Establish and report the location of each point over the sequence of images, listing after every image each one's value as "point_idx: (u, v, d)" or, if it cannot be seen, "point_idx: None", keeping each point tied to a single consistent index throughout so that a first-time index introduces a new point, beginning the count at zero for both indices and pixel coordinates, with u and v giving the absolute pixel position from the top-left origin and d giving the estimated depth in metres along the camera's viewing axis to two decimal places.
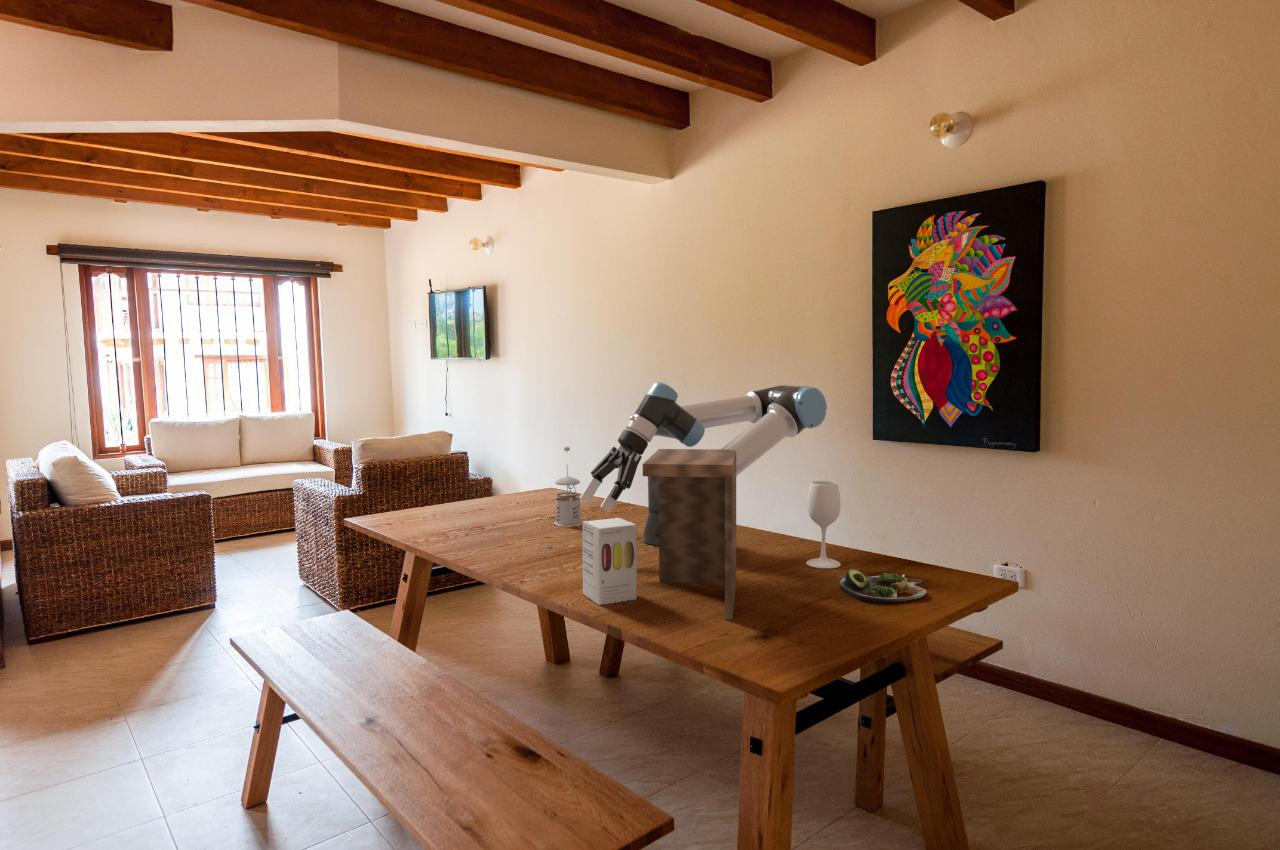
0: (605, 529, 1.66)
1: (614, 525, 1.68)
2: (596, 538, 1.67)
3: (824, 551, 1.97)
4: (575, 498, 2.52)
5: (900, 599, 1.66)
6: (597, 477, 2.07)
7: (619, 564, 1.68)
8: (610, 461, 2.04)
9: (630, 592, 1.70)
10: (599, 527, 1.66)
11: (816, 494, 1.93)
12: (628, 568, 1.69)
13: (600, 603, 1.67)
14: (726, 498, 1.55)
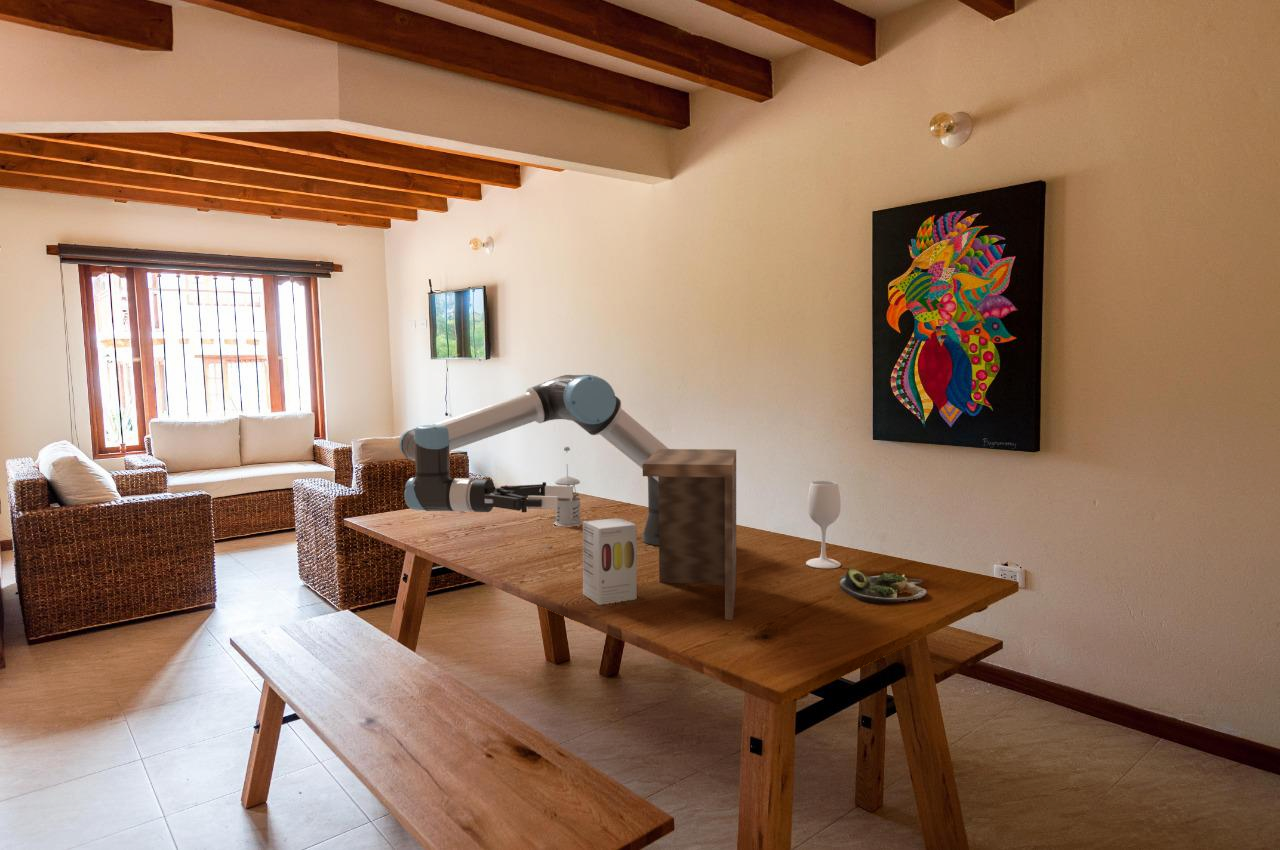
0: (605, 529, 1.66)
1: (614, 525, 1.68)
2: (596, 538, 1.67)
3: (824, 551, 1.97)
4: (575, 498, 2.52)
5: (900, 599, 1.66)
6: (543, 491, 1.80)
7: (619, 564, 1.68)
8: None
9: (630, 592, 1.70)
10: (599, 527, 1.66)
11: (816, 494, 1.93)
12: (628, 568, 1.69)
13: (600, 603, 1.67)
14: (726, 498, 1.55)
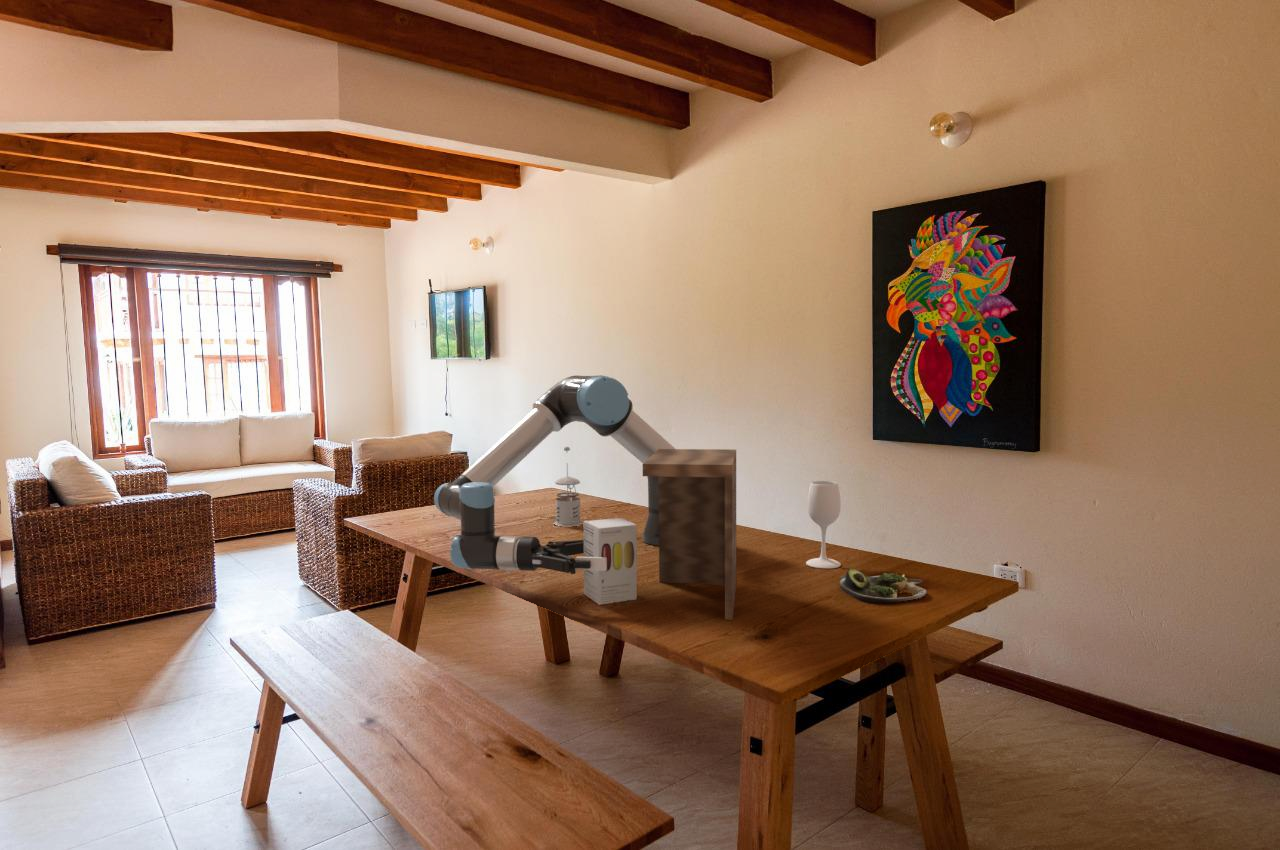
0: (605, 529, 1.66)
1: (614, 525, 1.68)
2: (596, 538, 1.67)
3: (824, 551, 1.97)
4: (575, 498, 2.52)
5: (900, 599, 1.66)
6: None
7: (618, 564, 1.68)
8: None
9: (630, 592, 1.70)
10: (599, 527, 1.66)
11: (816, 494, 1.93)
12: (628, 568, 1.69)
13: (600, 603, 1.67)
14: (726, 498, 1.55)
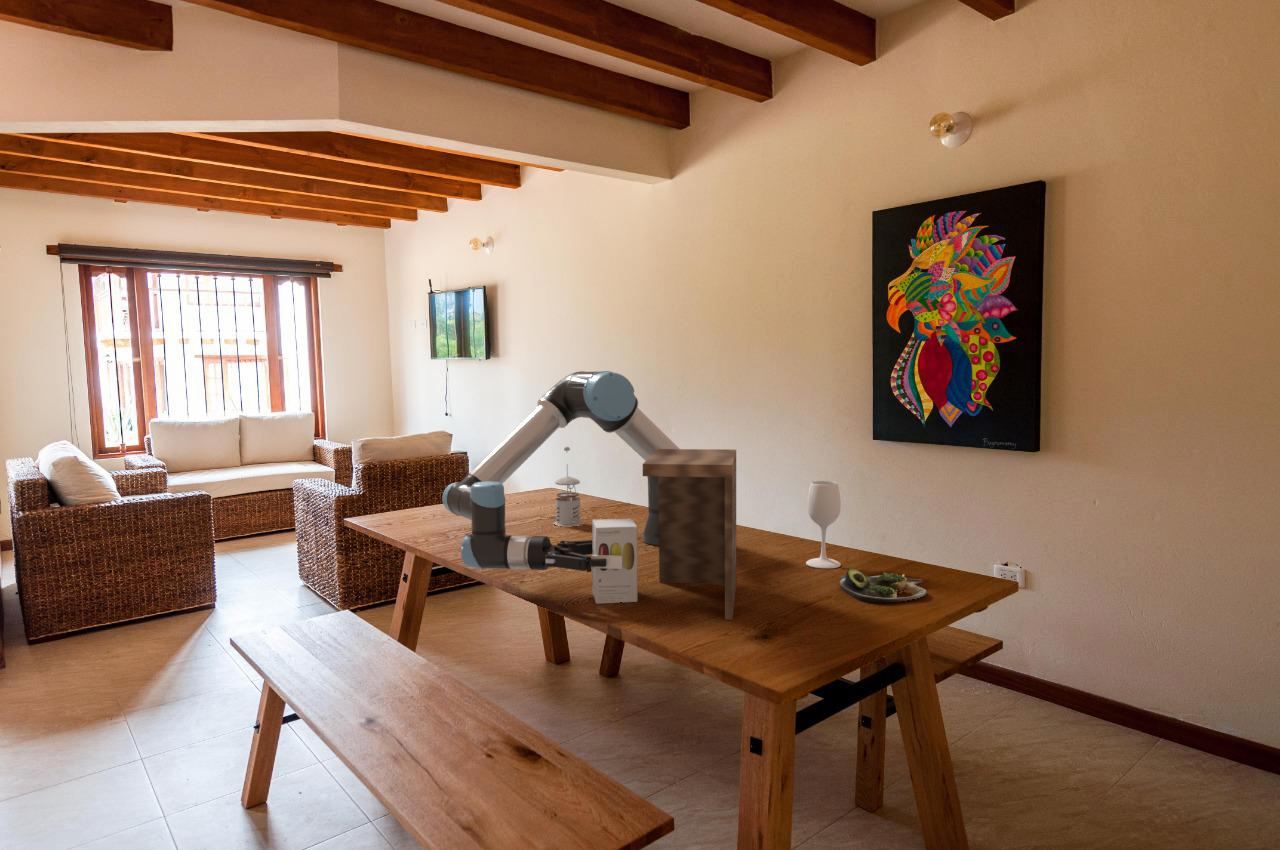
0: (602, 529, 1.66)
1: (614, 525, 1.68)
2: (594, 537, 1.68)
3: (824, 551, 1.97)
4: (575, 498, 2.52)
5: (900, 599, 1.66)
6: None
7: None
8: None
9: (630, 594, 1.68)
10: (597, 526, 1.67)
11: (816, 494, 1.93)
12: (627, 569, 1.68)
13: (597, 602, 1.68)
14: (726, 498, 1.55)
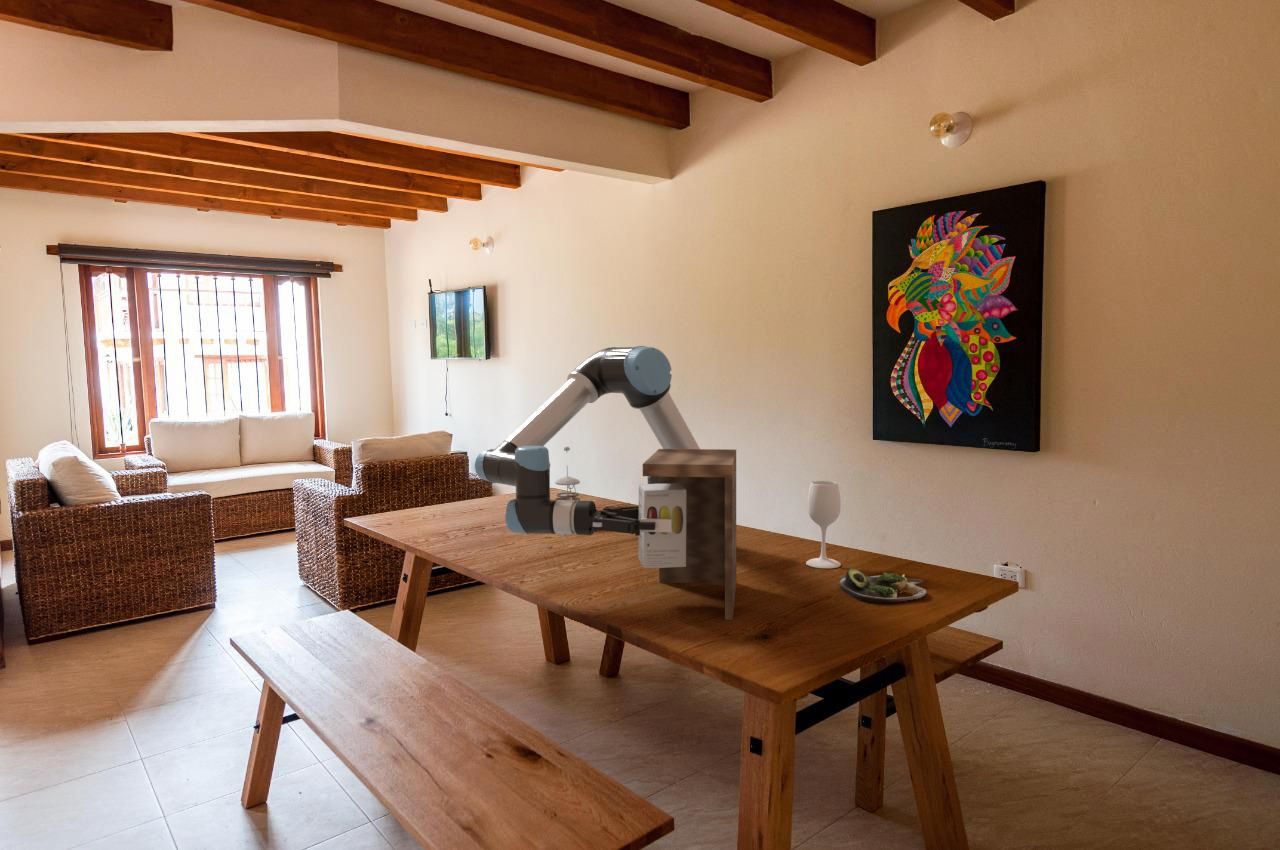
0: (651, 491, 1.63)
1: (663, 488, 1.64)
2: (643, 500, 1.64)
3: (824, 551, 1.97)
4: (575, 498, 2.52)
5: (900, 599, 1.66)
6: None
7: None
8: None
9: (679, 558, 1.65)
10: (646, 489, 1.64)
11: (816, 494, 1.93)
12: (676, 533, 1.64)
13: (645, 566, 1.64)
14: (726, 498, 1.55)
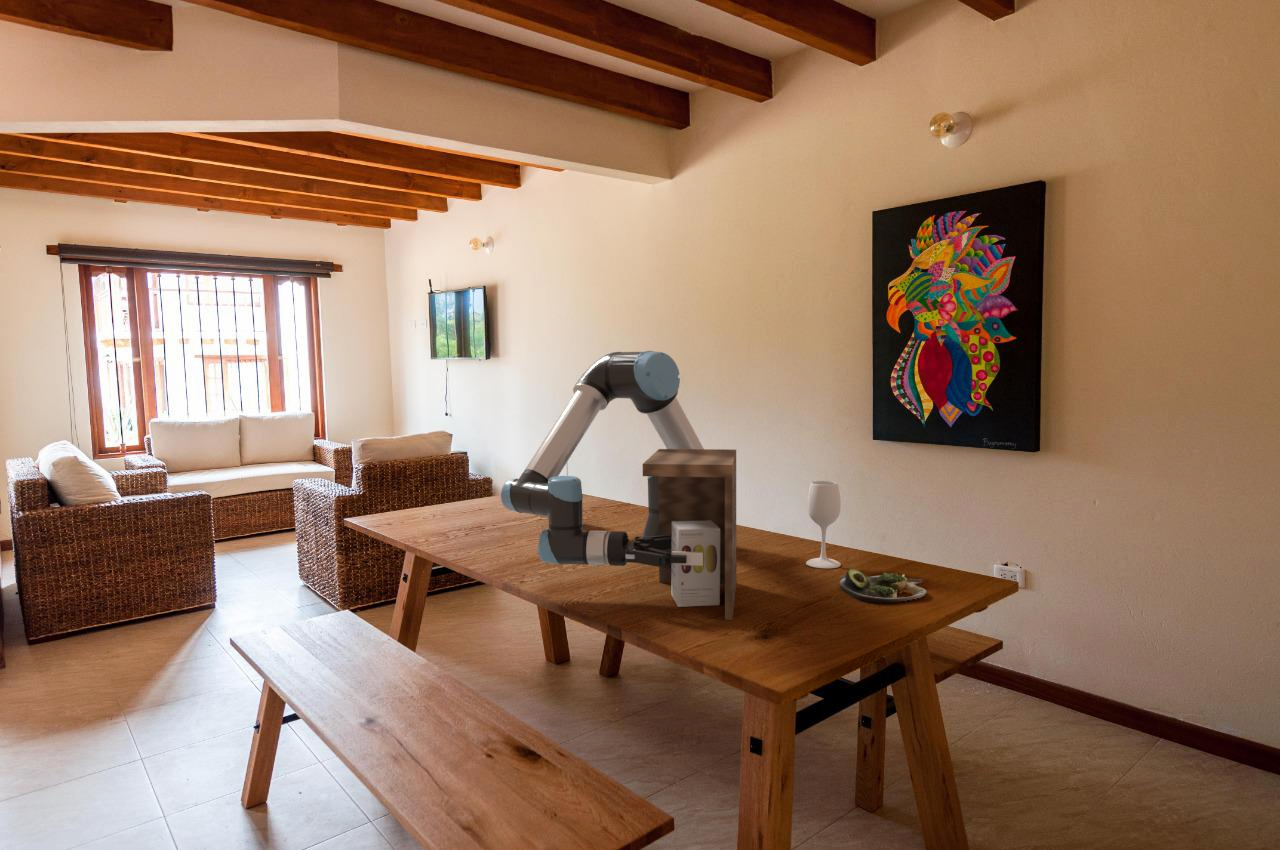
0: (685, 530, 1.64)
1: (697, 527, 1.65)
2: (677, 539, 1.65)
3: (824, 551, 1.97)
4: None
5: (900, 599, 1.66)
6: None
7: (700, 567, 1.65)
8: None
9: (713, 597, 1.66)
10: (680, 528, 1.65)
11: (816, 494, 1.93)
12: (710, 572, 1.65)
13: (679, 605, 1.65)
14: (726, 498, 1.55)
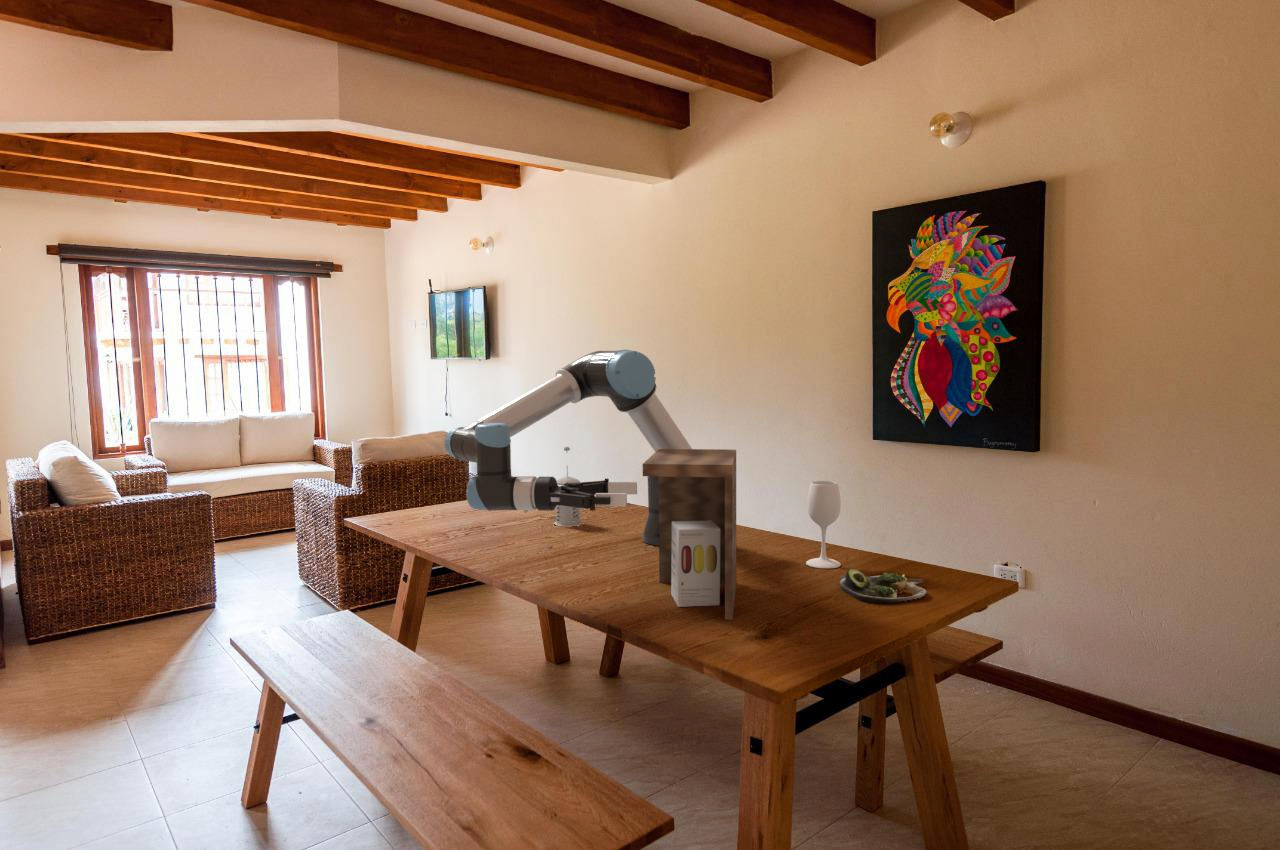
0: (685, 531, 1.64)
1: (697, 527, 1.65)
2: (677, 539, 1.65)
3: (824, 551, 1.97)
4: None
5: (900, 599, 1.66)
6: (605, 488, 1.77)
7: (700, 567, 1.65)
8: None
9: (713, 597, 1.66)
10: (680, 528, 1.65)
11: (816, 494, 1.93)
12: (710, 572, 1.65)
13: (679, 605, 1.65)
14: (726, 498, 1.55)
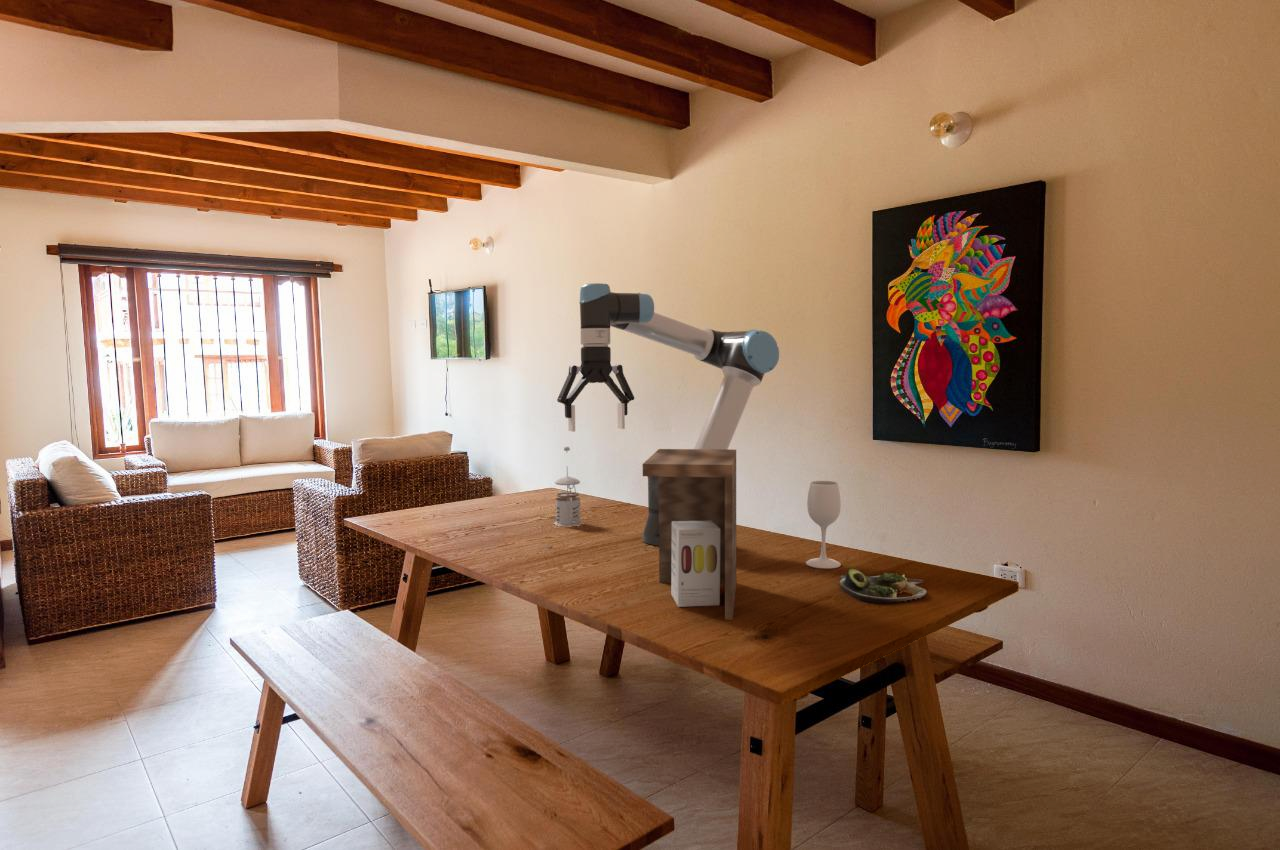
0: (685, 531, 1.64)
1: (697, 527, 1.65)
2: (677, 539, 1.65)
3: (824, 551, 1.97)
4: (575, 498, 2.52)
5: (900, 599, 1.66)
6: None
7: (700, 567, 1.65)
8: None
9: (713, 597, 1.66)
10: (680, 528, 1.65)
11: (816, 494, 1.93)
12: (710, 572, 1.65)
13: (679, 605, 1.65)
14: (726, 498, 1.55)
